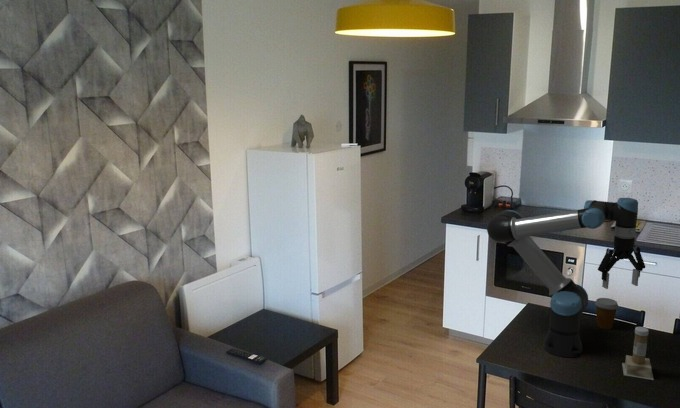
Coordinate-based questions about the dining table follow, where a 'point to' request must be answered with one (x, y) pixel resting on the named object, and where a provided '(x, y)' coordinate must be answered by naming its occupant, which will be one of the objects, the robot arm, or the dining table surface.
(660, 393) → the dining table surface
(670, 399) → the dining table surface
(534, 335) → the dining table surface
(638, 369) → the beech block
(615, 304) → the disposable coffee cup
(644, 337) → the sprinkles bottle
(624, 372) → the plate
